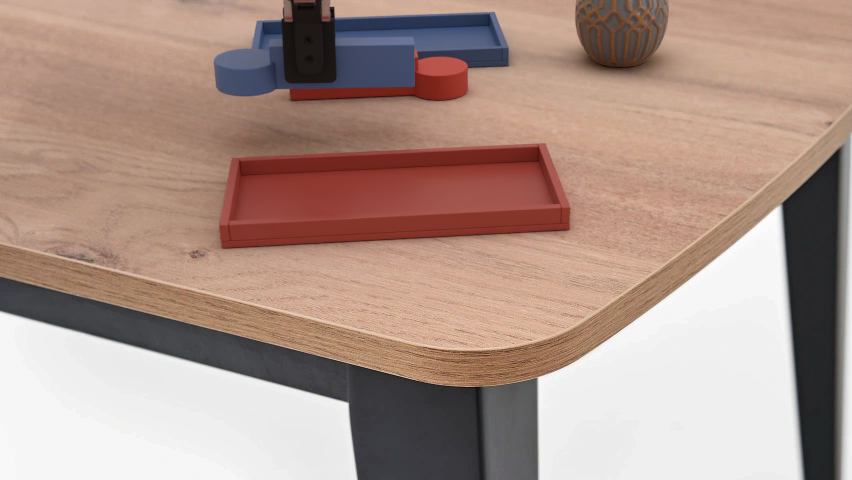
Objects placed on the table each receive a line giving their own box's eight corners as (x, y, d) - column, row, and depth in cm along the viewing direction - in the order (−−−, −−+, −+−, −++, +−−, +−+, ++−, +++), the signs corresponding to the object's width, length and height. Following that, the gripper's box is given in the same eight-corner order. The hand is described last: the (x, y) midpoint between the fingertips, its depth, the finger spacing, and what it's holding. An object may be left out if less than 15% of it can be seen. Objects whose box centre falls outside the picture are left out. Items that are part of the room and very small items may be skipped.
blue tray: (251, 76, 89) (249, 57, 88) (258, 37, 97) (256, 20, 96) (508, 65, 90) (508, 47, 90) (494, 28, 98) (494, 11, 98)
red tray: (221, 248, 65) (218, 225, 65) (233, 178, 73) (231, 157, 72) (569, 229, 67) (570, 206, 66) (545, 163, 75) (545, 142, 74)
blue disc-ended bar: (412, 72, 79) (412, 30, 78) (415, 93, 76) (415, 50, 75) (218, 75, 78) (214, 33, 77) (213, 97, 75) (209, 54, 73)
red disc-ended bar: (289, 106, 83) (286, 68, 82) (291, 86, 87) (288, 48, 86) (470, 99, 84) (470, 60, 83) (465, 79, 88) (464, 42, 87)
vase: (682, 67, 90) (691, -52, 86) (598, 79, 88) (604, -42, 83) (638, 39, 96) (644, -73, 91) (558, 50, 93) (561, -64, 89)
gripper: (237, -254, 74) (258, 37, 83) (215, -221, 61) (243, 123, 70) (360, -253, 75) (367, 35, 84) (366, -220, 61) (374, 120, 70)
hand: (311, 73), depth 77 cm, fingers closed on blue disc-ended bar, 1 cm apart
